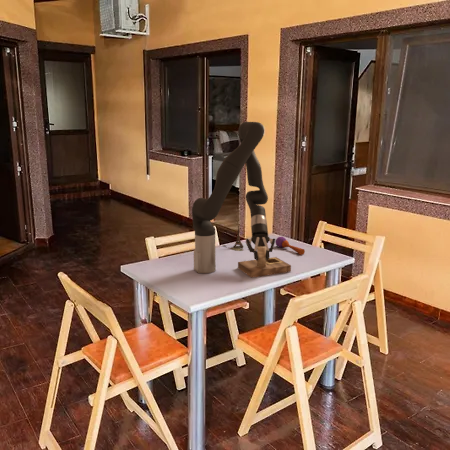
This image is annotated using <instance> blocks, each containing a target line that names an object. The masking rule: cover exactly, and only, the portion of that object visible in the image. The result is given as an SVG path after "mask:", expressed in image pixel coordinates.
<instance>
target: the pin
mask: <svg viewBox="0 0 450 450" xmlns="http://www.w3.org/2000/svg"><path fill="white" fill-rule="evenodd" d="M257 253H258V261H257V267H259V268H264V267H266V247H265V246H258V247H257Z"/></svg>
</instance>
